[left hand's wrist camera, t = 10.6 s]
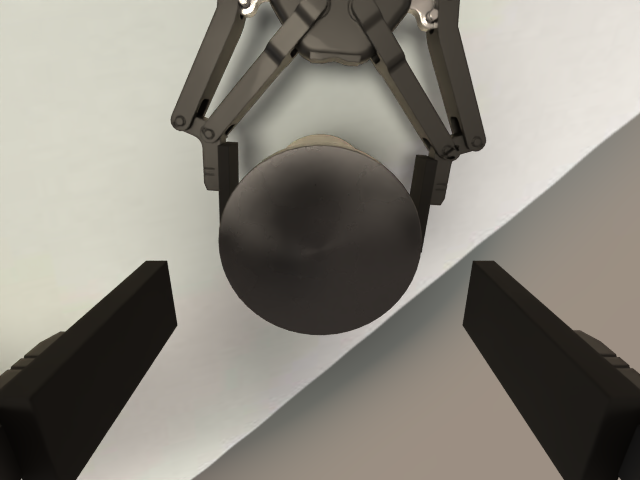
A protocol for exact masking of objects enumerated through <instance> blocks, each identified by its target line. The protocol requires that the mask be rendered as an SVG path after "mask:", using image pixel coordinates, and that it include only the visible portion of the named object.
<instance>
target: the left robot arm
mask: <svg viewBox="0 0 640 480" xmlns="http://www.w3.org/2000/svg"><path fill="white" fill-rule="evenodd" d="M176 327H177V320H176V313H175V307H174V301H173V295H172V288H171V282H170V276H169V270H168V263H167V261H145V262H144V263H143V264H142V265H141V266H140V267H139V268H137V269H136V270H135V271H134V272H133V273H132V274H131V275H129V276H128V277H127V278H126V279H125V280H124V281H123V282H121V283H120V284H119V285H118V286H117V287H116V288H115V289H114V290H112V291H111V292H110V293H109V294H108V295H107V296H106V297H104V298H103V299H102V300H101V301H100V302H99V303H98V304H96V305H95V306H94V307H93V308H92V309H91V310H90V311H88V312H87V313H86V314H85V315H84V316H83V317H82V318H81V319H79V320H78V321H77V322H76V323H75V324H74V325H73V326H71V327H70V328H69V329H68V330H67V331H66V332H59V333H57V334H55V335H53V336H51V337H50V338H48V339H46V340H44V341H42V342H40V343H39V344H38V345H37V346H35V347H34V348H33V349H32V350H31V351H29V352H28V353H27V354H26V355H25V356H24V358H21V359H20V360H19V361H17V362H16V363H15V364H14V365H13V366H11V369H10V370H7V371H6V372H4V373H3V374H2V375H1V376H0V480H21V478H22V480H76V479H77V477H78V476H79V474H80V473H81V471H82V470H83V468H84V467H85V465H86V464H87V462H88V461H89V459H90V458H91V456H92V455H93V453H94V452H95V450H96V449H97V447H98V445H99V444H100V442H101V441H102V439H103V438H104V436H105V435H106V433H107V432H108V430H109V429H110V427H111V426H112V424H113V423H114V421H115V420H116V418H117V417H118V415H119V414H120V412H121V410H122V409H123V407H124V406H125V404H126V403H127V401H128V400H129V398H130V397H131V395H132V394H133V392H134V391H135V389H136V388H137V386H138V385H139V383H140V382H141V380H142V378H143V377H144V375H145V374H146V372H147V371H148V369H149V368H150V366H151V365H152V363H153V362H154V360H155V359H156V357H157V356H158V354H159V353H160V351H161V350H162V348H163V346H164V345H165V343H166V342H167V340H168V339H169V337H170V336H171V334H172V333H173V331H174V330H175V328H176ZM463 327H464V328H465V330H466V331H467V333H468V334H469V336H470V337H471V339H472V340H473V342H474V343H475V345H476V346H477V348H478V349H479V351H480V353H481V354H482V356H483V357H484V359H485V360H486V362H487V363H488V365H489V366H490V368H491V369H492V371H493V372H494V374H495V375H496V377H497V378H498V380H499V381H500V383H501V385H502V386H503V388H504V389H505V391H506V392H507V394H508V395H509V397H510V398H511V400H512V401H513V403H514V404H515V406H516V407H517V409H518V410H519V412H520V414H521V415H522V416H523V418H524V420H525V421H526V423H527V424H528V426H529V427H530V429H531V430H532V432H533V433H534V435H535V436H536V438H537V439H538V441H539V442H540V444H541V445H542V447H543V448H544V450H545V452H546V453H547V455H548V456H549V458H550V459H551V461H552V462H553V464H554V465H555V467H556V468H557V470H558V471H559V473H560V474H561V476H562V477H563V479H564V480H618V477H619V478H620V479H621V480H640V374H639V373H638V372H637V371H635V370H634V369H633V368H630V367H629V365H628V364H627V363H626V362H625V361H623V360H622V359H621V358H620V357H617V356H616V354H615V353H614V352H613V351H611V350H610V349H609V348H608V347H607V346H605V345H604V344H603V343H602V342H601V341H599V340H597V339H595V338H593V337H591V336H589V335H588V334H586V333H584V332H582V331H580V330H572V329H571V328H570V327H569V326H567V325H566V324H565V323H564V322H563V321H562V320H561V319H559V318H558V317H557V316H556V315H555V314H554V313H553V312H552V311H550V310H549V309H548V308H547V307H546V306H545V305H544V304H542V303H541V302H540V301H539V300H538V299H537V298H536V297H534V296H533V295H532V294H531V293H530V292H529V291H528V290H526V289H525V288H524V287H523V286H522V285H521V284H520V283H518V282H517V281H516V280H515V279H514V278H513V277H512V276H511V275H509V274H508V273H507V272H506V271H505V270H504V269H502V268H501V267H500V266H499V265H498V264H497V263H496V262H495V261H473V264H472V270H471V276H470V282H469V288H468V295H467V301H466V307H465V314H464V320H463Z"/></svg>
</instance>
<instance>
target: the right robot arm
mask: <svg viewBox="0 0 640 480" xmlns="http://www.w3.org/2000/svg"><path fill="white" fill-rule="evenodd" d="M263 2H270V4H271V6H272V8H273V10H274V12H275V13H276V15H277V17H278V19H279V20H280V22H281V24H282V26H281V28H280V29H279V30H278V31H277V32H276V34H275V35H274V36H273V37H272V39H271V40H270V41H269V42H268V44H267V46H266V48H265V50H264V51H263V52H262V54H261V55H260V56H259V57H258V59H257V60H256V61H255V62H254V63H253V65H252V66H251V67H250V68H249V70H248V71H247V72H246V73H245V74H244V76H243V77H242V78H241V79H240V81H239V82H238V83H237V84H236V86H235V87H234V88H233V89H232V90H231V92H230V93H229V94H228V95H227V97H226V98H225V99H224V100H223V101H222V103H221V104H220V105H219V106H218V108H217V109H216V110H215V111H214V112H213V114H212V115H211V116H210V117H209V119H208V118H206V117H204V116H205V114H206V112H207V109H208V107H209V105H210V103H211V101H212V98H213V96H214V94H215V92H216V89H217V87H218V85H219V83H220V80H221V78H222V76H223V74H224V72H225V69H226V67H227V65H228V63H229V60H230V58H231V56H232V54H233V52H234V49H235V47H236V45H237V43H238V40H239V38H240V36H241V33H242V31H243V28H244V24H245V20H246V18H251V17H253V16H254V15H255V14H256V13H257V10H258V7H259V6H260V4H262V3H263ZM459 5H460V0H217V8H216V11H215V13H214V15H213V18H212V20H211V23H210V25H209V27H208V30H207V32H206V35H205V37H204V39H203V42H202V44H201V46H200V49H199V51H198V54H197V56H196V58H195V61H194V63H193V66H192V68H191V70H190V73H189V75H188V77H187V80H186V82H185V85H184V87H183V89H182V92H181V94H180V97H179V99H178V101H177V104H176V106H175V109H174V111H173V113H172V116H171V124H172V126H173V127H174V128H175V129H176V130H179V131H184V132H187V133H189V134H191V135H193V136H195V137H197V138H198V139H199V140H200V142H201V143H202V147H203V168H204V184H205V186H206V188H207V190H213V191H219V212H220V223H221V218H222V214H223V211H224V209H225V206H226V203H227V201H228V200H229V198H230V196H231V194H232V192H233V191H234V189H235V188H236V187H237V185H238V184H239V178H238V142H226V138H227V137H228V136H227V135H228V134H229V133H230V132H231V131H232V130H233V128H234V127H235V126H236V125H237V124H238V122H239V121H240V120H241V119H242V118H243V117H244V115H245V114H246V113H247V112H248V111H249V109H250V108H251V107H252V106H253V105H254V104H255V102H256V101H257V100H258V99H259V98H260V96H261V95H262V94H263V93H264V92H265V91H266V89H267V88H268V87H269V86H270V85H271V83H272V82H273V81H274V80H275V79H276V78H277V76H278V75H279V74H280V73H281V72H282V71H283V69H284V68H286V67H287V66H288V65H289V64H290V63H291V61H292V60H293V59H294V58H295V57H296V56H297V54H298V53H299V54H300V55H301V56H302V57H303V58H305V59H306V60H308V61H310V63H320V64H323V63H327V62H332V61H336V62H338V63H341V64H343V65H347V66H358V65H360V64H363V63H365V62H367V61H368V60H369V59H370V60H371V61H372V63H373V65H374V66H375V68H376V69H377V71H378V72H379V74H380V75H382V77H383V78H384V80H385V81H386V83H387V85H388V86H389V88H390V89H391V91H392V93H393V94H394V96H395V98H396V99H397V101H398V102H399V104H400V106H401V107H402V109H403V110H404V112H405V114H406V115H407V117H408V119H409V120H410V122H411V123H412V125H413V127H414V128H415V130H416V131H417V133H418V135H419V136H420V138H421V140H422V141H423V143H424V144H425V146H426V148H427V149H428V151H429V156H426V155H416V159H415V166H414V172H413V178H412V185H411V191H410V197H411V199H412V201H413V203H414V205H415V207H416V210H417V213H418V217H419V220H420V226H421V233H422V246H421V253H422V247H423V242H424V236H425V231H426V225H427V219H428V214H429V208H430V205H441V204H442V202H443V200H444V199H445V194H446V189H447V184H448V178H449V173H450V168H451V164H452V161H454V160H456V159H457V158H458V157H459V156H460V154H463V153H467V152H471V151H479V150H481V149H482V148H483V147H484V146H485V143H486V137H485V133H484V129H483V125H482V121H481V117H480V113H479V109H478V105H477V101H476V97H475V93H474V89H473V85H472V81H471V77H470V73H469V69H468V65H467V61H466V57H465V53H464V49H463V45H462V41H461V36H460V32H459V28H458V18H459ZM407 13H411V14H413V15H414V16H415V18H416V21H417V25H418V27H419V29H420V30H422V31H425V32H426V36H427V44H428V48H429V52H430V56H431V59H432V63H433V67H434V70H435V74H436V77H437V81H438V84H439V88H440V92H441V95H442V99H443V102H444V106H445V110H446V113H447V117H448V120H449V124H450V127H451V131H452V135H450V134H449V133H448V131H447V129H446V128H445V126H444V124H443V122H442V121H441V119H440V117H439V116H438V114H437V112H436V111H435V109H434V107H433V105H432V104H431V102H430V100H429V99H428V97H427V95H426V94H425V92H424V90H423V89H422V87H421V85H420V83H419V82H418V80H417V78H416V77H415V75H414V73H413V72H412V70H411V68H410V66H409V65H408V63H407V61H406V59H405V55H404V52H403V50H402V49H401V47H400V45H399V43H398V42H397V40H396V38H395V37H394V35H393V33H392V32H393V31H394V29H395V28H396V27H397V26H398V24H399V23H400V22H401V20H402V19H403V18H404V17H405V15H406V14H407Z"/></svg>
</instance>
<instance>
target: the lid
mask: <svg viewBox="0 0 640 480" xmlns="http://www.w3.org/2000/svg"><path fill="white" fill-rule="evenodd" d="M421 246H422V233H421V226H420V220H419V217H418V213H417V210H416V207H415V205H414V203H413V201H412V199H411V197H410V195H409V193H408V192H407V190H406V189H405V187H404V186H403V184H402V183H401V182H400V181H399V180H398V179H397V178H396V177H395V175H394V174H393V173H391V172H390V171H389V170H388V169H387V168H386V167H385V166H383V165H382V164H381V163H380V162H379V161H377V160H376V159H374V158H373V157H371V156H370V155H368V154H366V153H364V152H362V151H360V150H358V149H355V148H352V147H349V146H346V145H342V144H336V143H330V142H312V143H303V144H299V145H295V146H291V147H288V148H285V149H283V150H281V151H278V152H276V153H274V154H273V155H271V156H269V157H267V158H266V159H264V160H263V161H262V162H261V163H259V164H258V165H257V166H255V167H254V168H253V169H252V170H251V171H250V172H249V173H248V174H247V175H246V176H245V177H244V178H243V179H242V180H241V181H240V182H239V184H238V185H237V187H236V188H235V189H234V191H233V192H232V194H231V196H230V198H229V200H228V201H227V203H226V206H225V209H224V211H223V214H222V218H221V223H220V228H219V253H220V258H221V262H222V266H223V269H224V272H225V274H226V277H227V279H228V281H229V283H230V284H231V286H232V288H233V289H234V291H235V292H236V294H237V295H238V297H239V298H240V299H241V300H242V301H243V302H244V303H245V304H246V305H247V307H249V308H250V309H251V310H252V311H253V312H255V313H256V314H257V315H259V316H260V317H262V318H263V319H265V320H266V321H268V322H270V323H272V324H274V325H276V326H278V327H281V328H283V329H286V330H289V331H293V332H297V333H302V334H310V335H330V334H338V333H343V332H348V331H351V330H354V329H357V328H360V327H362V326H364V325H366V324H369V323H371V322H372V321H374V320H376V319H377V318H379V317H381V316H382V315H383V314H384V313H386V312H387V311H388V310H390V309H391V308H392V307H393V306H394V305H395V304H396V303H397V302H398V301H399V299H400V298H401V297H402V295H403V294H404V293H405V292H406V290H407V288H408V287H409V285H410V283H411V282H412V280H413V277H414V275H415V272H416V270H417V267H418V263H419V260H420V254H421Z"/></svg>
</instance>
